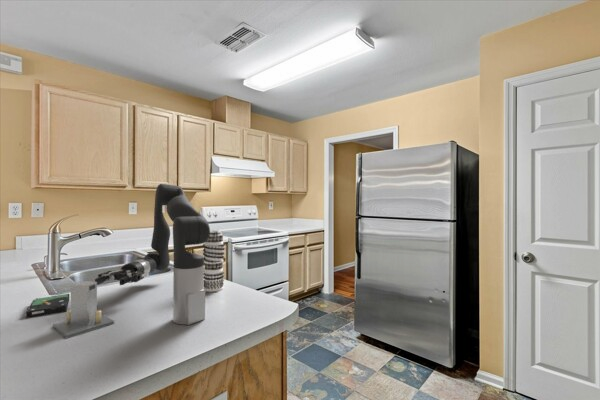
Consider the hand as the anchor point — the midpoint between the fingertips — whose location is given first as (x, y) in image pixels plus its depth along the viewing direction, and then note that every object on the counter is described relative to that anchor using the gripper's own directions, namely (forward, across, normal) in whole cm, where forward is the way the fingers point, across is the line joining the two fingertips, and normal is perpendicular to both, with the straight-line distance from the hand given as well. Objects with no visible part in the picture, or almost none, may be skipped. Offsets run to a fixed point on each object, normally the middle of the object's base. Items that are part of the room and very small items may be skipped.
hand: (108, 282), depth 100 cm
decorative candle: (-27, +28, +10) cm, 40 cm away
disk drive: (-2, -22, +11) cm, 25 cm away
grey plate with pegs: (+11, 0, +10) cm, 15 cm away
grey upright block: (+11, 0, +9) cm, 14 cm away
